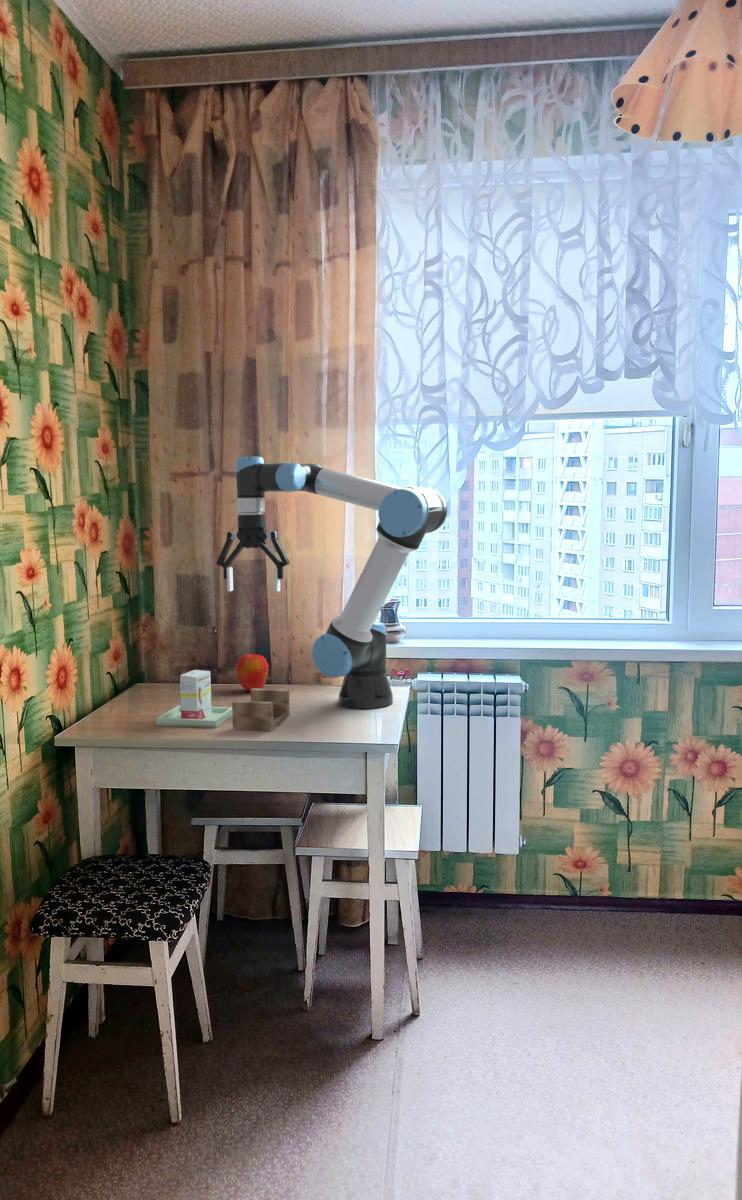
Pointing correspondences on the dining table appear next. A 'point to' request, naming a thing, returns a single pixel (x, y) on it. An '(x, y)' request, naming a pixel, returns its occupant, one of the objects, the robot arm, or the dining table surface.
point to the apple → (252, 671)
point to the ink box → (195, 694)
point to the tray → (210, 721)
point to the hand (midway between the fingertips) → (253, 591)
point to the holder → (261, 710)
